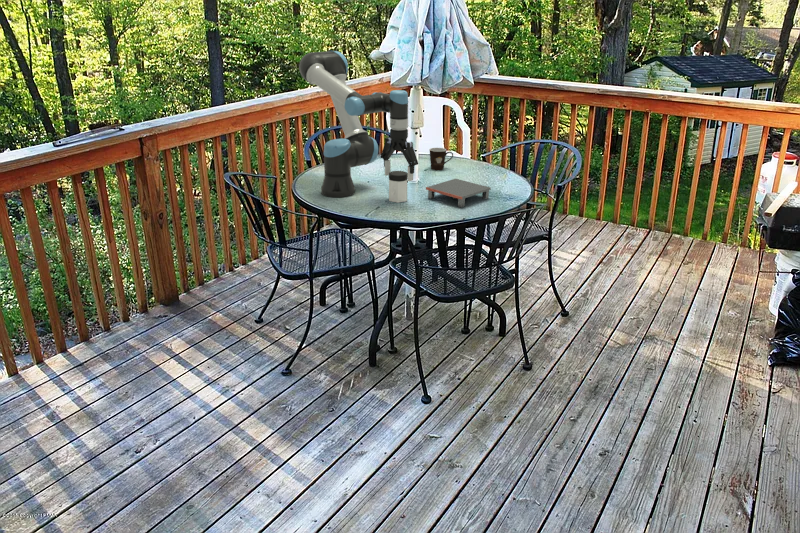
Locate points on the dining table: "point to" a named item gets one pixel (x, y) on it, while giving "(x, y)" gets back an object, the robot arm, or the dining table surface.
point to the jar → (398, 186)
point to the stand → (458, 190)
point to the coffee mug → (438, 158)
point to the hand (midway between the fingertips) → (398, 177)
